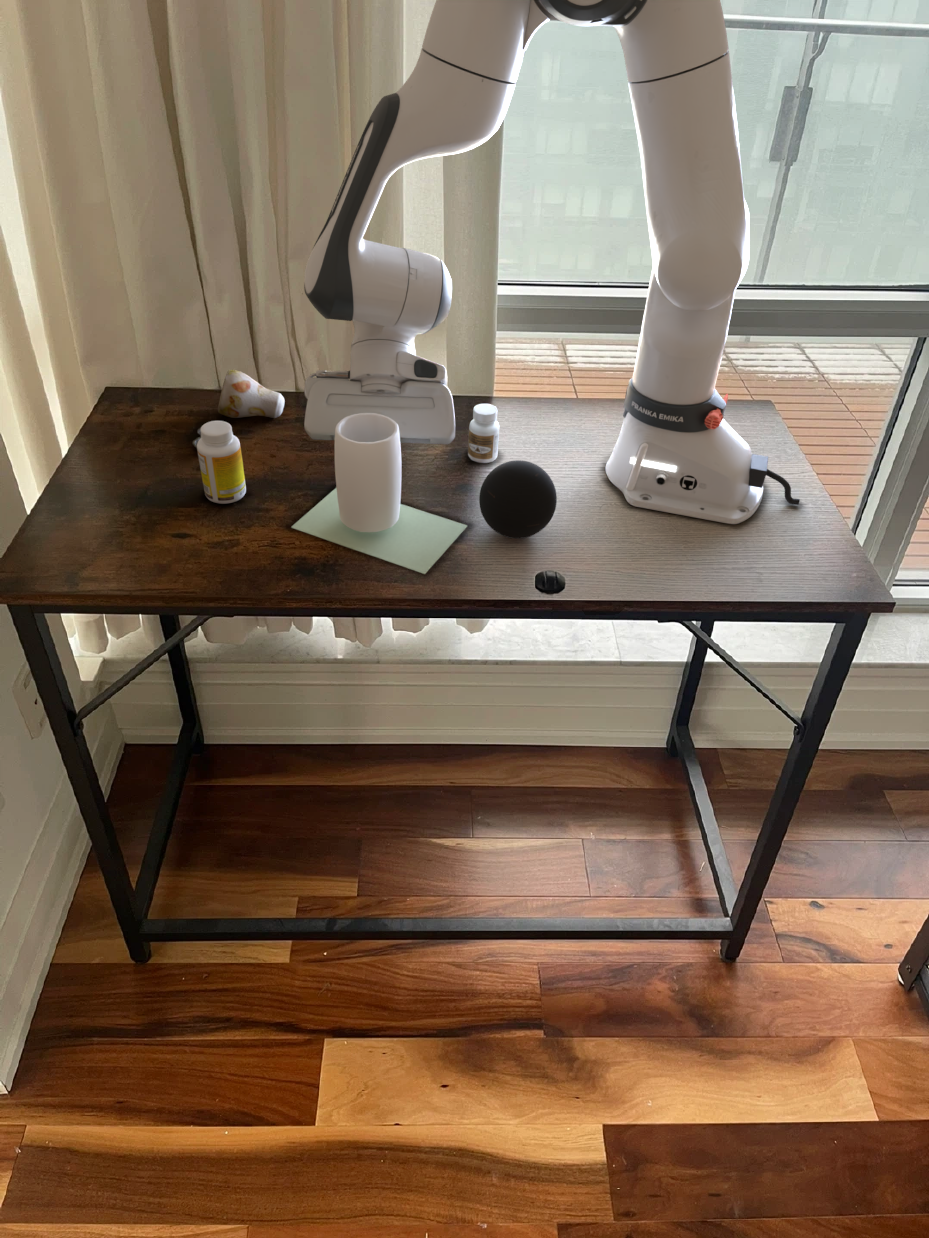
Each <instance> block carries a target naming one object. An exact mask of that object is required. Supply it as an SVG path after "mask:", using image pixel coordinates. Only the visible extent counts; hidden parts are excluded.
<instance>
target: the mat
mask: <svg viewBox="0 0 929 1238" xmlns="http://www.w3.org/2000/svg"><path fill="white" fill-rule="evenodd" d="M290 528H291V529H294V530H296V531H299V532H303V533H305V534H308V535H311V536H314V537H317V538H320V539H323V540H324V541H328V542H331V543H334V544H337V545H340V546H342V547H345V548H347V549H351V550H353V551H356V552H359V553H362V554H365V555H368V556H371V557H373V558H376V559H380V560H383V561H385V562H389V563H391V564H393V565H397V566H400V567H403V568H405V569H409V570H411V571H414V572H417V573H419V574H423V575H426V574H427V573H428V572H429V570H430V569H432V567H433V566H434V565H435V564H436V563H437V561H439V559H441V557H442V556H443V554H444V553H445V552H446V551H447V550H448V549H449V548H450V547H451V546H452V545H453V543H454V542H455V541H456V540H457V539H458V538H459V537H460V536H461V534H462V533H463V532H464V531H465V530H466V529H467V528H468V525H467V524H464V523H461V522H457V521H455V520H451V519H448V518H446V517H442V516H440V515H436V514H434V513H430V512H427V511H424V510H421V509H418V508H414V507H411V506H408V505H406V504H402V503H400V513H399V519H398V521H397V522H396V524H394V525H393V526H392V527H390V528H388V529H386V530H382V531H378V532H360V531H356V530H353V529H351V528H349V527H347V526H346V525H345V524H343V522H342V521H341V520H340V514H339V506H338V498H337V488H336V487H335V488H334V489H333V490H331V491H330V492H329V493H328V494H327V495H326V496H325V497H324V498H322V500H320V501H319V502H318V503H317V504H315V506H314V507H312V508H311V509H310V510H309V511H307V512H306V513H305V514H304V515H303V516H301V518H299V520H297V521H296V522H295V523H294V524H293V525H291V527H290Z"/></svg>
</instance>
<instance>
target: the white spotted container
mask: <svg viewBox="0 0 929 1238" xmlns="http://www.w3.org/2000/svg"><path fill="white" fill-rule="evenodd" d="M218 401H219V402H218V406H217V407H218V408H217V411H218V412H217V413H218V414H220V415H222V416H224V417H227V418H232V419H241V418H248V417H256V416H257V417H259V416H260V417H266V418H271V419H277V418H278V417H281V415H282V414H283V412H284V408H285V402H286V401H285V397H284V396H283V395H282V393H280V392H278V391H275V390H271V389H268V388H267V387H264V386H263V385H262V384H261V383H259V382H258V381H256V380H255V379H254V378H252V377H251V376H249V374H246V373H245V372H242V371H240V370H236V369H228V370H227V372H226V374H225V376H224V380H223V383H222V387H221V391H220V396H219V400H218Z"/></svg>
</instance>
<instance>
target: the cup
mask: <svg viewBox="0 0 929 1238" xmlns="http://www.w3.org/2000/svg"><path fill="white" fill-rule="evenodd" d="M401 444H402V443H400V434H399V427H398V424H397V423H396V422H395V421H394V420H392V419H391V418H389V417H387V416H384V415H381V414H376V413H359V414H354V415H350V416H347V417H345V418H343V419H342V420H341V421H340V422H339V423H338V424H337V425H336V428H335V440H334V445H333V446H334V472H335V474H334V475H335V485H336V486H335V488H337V498H338V506H339V514H340V520H341V521H342V522H343V524H345V525H346V526H347V527H349V528H351V529H353V530H356V531H360V532H378V531H382V530H386V529H388V528H390V527H392V526H393V525H394V524H396V522H397V521H398V519H399V513H400V504H401V499H402V464H403V463H402V445H401Z"/></svg>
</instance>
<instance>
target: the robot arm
mask: <svg viewBox="0 0 929 1238" xmlns="http://www.w3.org/2000/svg"><path fill="white" fill-rule="evenodd" d="M433 5H434V6H433V9H432V10H431V14H430V18H429V21H428V24H427V27H426V30H425V35H424V38H423V42H422V44H421V45H422V46H421V49H420V53H419V56H418V59H417V62H416V64H415V67H414V69H413V70H412V71H411V74H410V75H409V77H408V78H407V80H406V81H405V82H404V83H403V84H402V86H401V87H400V88H399V89H398V90H397V91H396V92H394V93H391V94H390V93H389V94H388V95H384V96H382V97H381V99H380V100H379V102H378V103H377V104H376V106H375V107H374V109H373V111H372V112H371V115H370V116H369V118H368V120H367V123H366V124H365V126H364V129H363V132H362V133H361V135H360V138H359V141H358V143H357V145H356V148H355V150H354V153H353V154H352V158H351V160H350V163H349V165H348V167H347V170H346V172H345V175H344V178H343V180H342V182H341V185H340V187H339V190H338V192H337V194H336V197H335V199H334V202H333V204H332V207H331V209H330V212H329V214H328V216H327V219H326V221H325V223H324V226H323V228H322V229H321V231H320V233H319V235H318V237H317V239H316V241H315V243H314V245H313V247H312V249H311V252H310V253H309V255H308V258H307V261H306V264H305V269H304V276H303V277H304V282H303V289H304V294H305V296H306V297H307V299H308V301H309V302H310V303H311V305H312V306H313V307H314V309H315V310H316V311H317V312H318V313H319V314H320V315H321V316H322V317H323V318H324V319H326V320H335V321H345V322H352V325H353V337H352V340H351V344H350V358H349V370H326V369H319V370H316V371H315V372H314V373H311V374H310V375H308V376H307V378H306V379H305V381H304V391H303V392H304V397H305V400H306V407H305V413H304V425H303V426H304V431H305V433H306V434H307V435H308V436H309V439H311V440H316V441H335V428H336V425H337V424H338V423H339V422H340V421H341V420H342V419H343V418H345V417H347V416H350V415H354V414H359V413H376V414H381V415H384V416H387V417H389V418H391V419H392V420H394V421H395V422H396V423H397V424H398V427H399V434H400V444H424V445H426V444H427V445H428V444H429V445H450V444H451V443H452V442H453V441H454V440H455V438H456V417H455V415H456V414H455V405H454V399H453V395H452V392H451V390H450V388H449V387H448V379H449V378H448V371H447V368H446V367H445V366H444V365H443V364H441V363H438V362H436V361H432V360H429V359H426V358H424V357H421V356H419V355H417V352H416V346H415V338H416V336H418V335H425V334H426V333H429V332H430V331H432V330H433V329H435V328H436V327H439V325H441V324H442V323H443V322H445V321H446V319H447V318H448V317H449V315H450V312H451V306H452V296H453V280H452V278H451V275H450V272H449V270H448V267H447V266H446V264H445V263H444V261H443V260H442V259H441V258H440V257H439V256H438V257H437V256H435V255H433V254H430V253H427V252H423V251H419V250H415V249H410V248H406V247H398V246H393V245H389V244H386V243H385V244H384V243H381V242H376V241H372V240H369V239H368V240H367V239H365V238H364V236H365V234H366V232H367V228H368V226H369V224H370V222H371V219H372V217H373V215H374V212H375V210H376V208H377V205H378V203H379V200H380V198H381V196H382V194H383V191H384V189H385V186H386V184H387V182H388V181H389V179H390V178H391V176H393V175H394V173H395V172H396V171H398V170H399V169H401V168H402V167H404V166H405V165H408V164H411V163H413V162H416V161H420V160H424V159H430V158H437V157H445V156H452V155H457V154H461V153H465V152H468V151H470V150H474V149H475V148H477V147H479V146H481V145H483V144H484V143H486V142H488V140H489V139H490V138H491V137H493V135H495V133H496V132H498V130H499V129H500V126H501V125H502V123H503V121H504V119H505V117H506V115H507V112H508V109H509V106H510V103H511V100H512V97H513V95H514V91H515V88H516V84H517V80H518V77H519V73H520V70H521V67H522V64H523V61H524V58H525V54H526V51H527V49H528V47H529V44H530V42H531V40H532V38H533V37H534V35H535V33H537V31H538V30H539V29H540V28H541V27H542V26H543V25H544V24H546V23H548V22H549V21H559V22H562V23H565V24H568V25H571V26H575V27H576V26H577V27H613V29H614V30H615V32H616V34H617V36H618V39H619V43H620V45H621V49H622V53H623V57H624V64H625V71H626V77H627V83H628V90H629V95H630V101H631V107H632V113H633V118H634V119H633V120H634V124H635V131H636V137H637V143H638V148H639V155H640V164H641V174H642V183H643V192H644V193H643V195H644V203H645V210H646V211H645V213H646V219H647V228H648V235H649V236H648V237H649V244H650V251H651V259H652V268H651V274H650V279H649V285H648V290H647V295H646V301H645V307H644V311H643V317H642V323H641V328H640V334H639V339H638V347H637V351H636V357H635V363H634V367H633V373H632V377H631V378H630V379H629V380H628V384H627V387H626V391H625V396H624V402H623V415H622V416H623V421H622V425H621V429H620V430H619V434H618V438H617V440H616V442H615V445H614V447H613V450H612V453H611V454H610V457H609V458H608V460H607V462H606V464H605V474H606V476H607V478H608V480H609V481H610V482H611V484H613V485H614V486H615V487H616V488H617V489H618V490H620V491H621V493H622V494H623V496H624V498H625V500H626V502H627V503H628V504H629V505H631V506H633V507H637V508H642V509H647V510H653V511H657V512H658V511H659V512H662V513H663V512H664V513H670V514H675V515H680V516H685V517H690V518H696V519H701V520H706V521H711V522H717V523H723V524H728V525H738V524H740V523H743V522H745V521H746V520H748V519H749V518H751V517H752V516H753V515H754V514H755V512H756V511H757V510H758V509H759V506H760V505H761V502H762V499H763V494H764V483H765V479H766V476H767V477H769V478H771V479H773V480H774V481H775V482H777V483H779V484H781V486H782V487H783V488H784V499H785V501H786V502H787V503H788V504H790V505H797V506H799V504H800V501H801V499H800V498H793V497H792V488H791V485H790V483H789V481H788V480H787V479H786V478H784V477H783V476H781V475H779V474H777V473H776V472H774V471H772V470H770V469H769V468H768V466H769V465H768V464H769V456H767V455H761V454H756V453H752V448H751V446H750V445H749V444H748V442H747V441H745V439H743V437H742V436H740V434H738V433H737V432H736V430H735V429H734V428H733V427H732V426H731V425H730V424H729V423H728V422H727V421H726V419H724V416H725V413H726V409H727V404H728V399H729V394H728V393H726V394H725V395H724V397H722V396H721V395H720V393H719V392H718V390H717V389H716V385H717V380H718V376H719V371H720V369H721V368H720V367H721V363H722V360H723V354H724V351H725V347H726V343H727V338H728V333H729V327H730V321H731V317H732V310H733V305H734V301H735V296H736V290H737V288H738V286H740V283H741V282H742V280H743V278H744V277H745V274H746V272H747V270H748V266H749V262H750V253H751V252H750V248H751V247H750V246H751V245H750V241H751V240H750V211H749V207H748V204H747V202H746V199H745V194H744V184H743V183H744V181H743V171H742V162H741V161H742V160H741V152H740V141H739V128H738V119H737V111H736V109H737V108H736V100H735V93H734V83H733V75H732V65H731V57H730V49H729V42H728V41H729V40H728V33H727V27H726V22H725V16H724V12H723V11H724V10H723V7H722V2H721V0H435V3H434V4H433Z"/></svg>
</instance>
